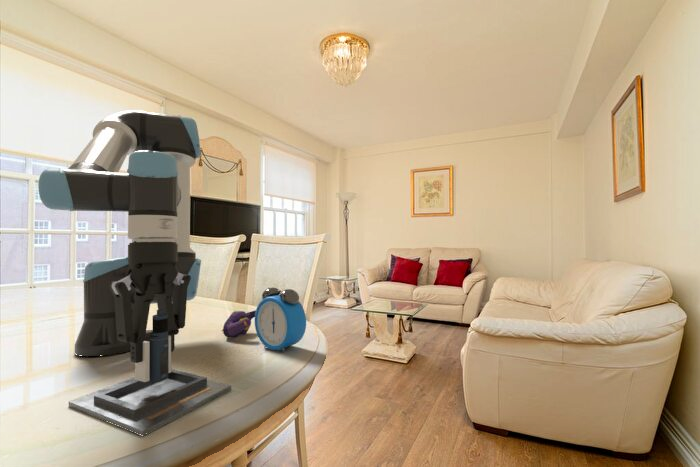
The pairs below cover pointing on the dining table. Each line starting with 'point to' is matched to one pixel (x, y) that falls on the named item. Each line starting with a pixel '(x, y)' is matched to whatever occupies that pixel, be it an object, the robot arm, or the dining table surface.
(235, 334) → the toy
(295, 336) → the alarm clock
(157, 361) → the vaping device
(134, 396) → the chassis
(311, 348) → the dining table surface
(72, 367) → the dining table surface
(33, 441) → the dining table surface
